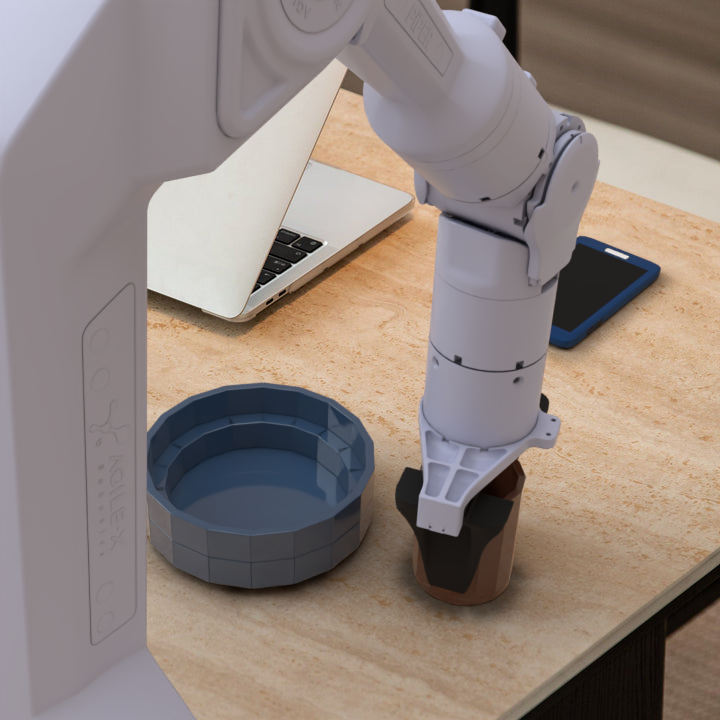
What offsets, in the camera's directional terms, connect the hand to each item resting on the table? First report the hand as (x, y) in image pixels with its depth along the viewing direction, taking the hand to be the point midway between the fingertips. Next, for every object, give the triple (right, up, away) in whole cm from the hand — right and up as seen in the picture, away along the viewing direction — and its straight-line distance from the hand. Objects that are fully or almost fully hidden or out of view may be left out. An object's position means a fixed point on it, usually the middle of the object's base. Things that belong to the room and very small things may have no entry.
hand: (464, 544), depth 67 cm
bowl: (-12, +1, +4) cm, 12 cm away
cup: (0, -1, +1) cm, 2 cm away
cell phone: (+10, +15, +25) cm, 30 cm away
